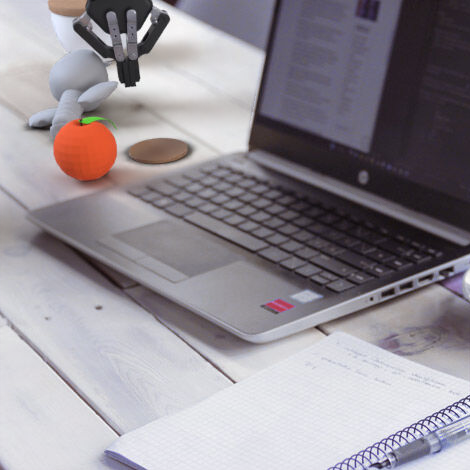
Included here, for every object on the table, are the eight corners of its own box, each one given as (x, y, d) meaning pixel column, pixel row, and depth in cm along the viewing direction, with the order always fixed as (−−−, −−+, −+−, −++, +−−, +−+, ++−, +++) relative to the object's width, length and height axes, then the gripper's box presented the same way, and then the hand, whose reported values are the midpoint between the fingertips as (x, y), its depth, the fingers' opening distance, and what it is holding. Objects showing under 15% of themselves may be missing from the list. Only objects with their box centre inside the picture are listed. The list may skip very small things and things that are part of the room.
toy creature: (0, 121, 115) (32, 49, 131) (32, 169, 119) (60, 94, 135) (94, 86, 113) (115, 18, 129) (123, 136, 117) (141, 64, 133)
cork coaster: (120, 161, 112) (120, 158, 112) (141, 139, 118) (140, 136, 118) (177, 165, 111) (177, 162, 111) (195, 142, 117) (195, 139, 117)
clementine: (102, 157, 113) (95, 101, 110) (140, 173, 109) (133, 114, 106) (45, 179, 108) (35, 120, 104) (83, 196, 104) (74, 135, 100)
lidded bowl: (146, 63, 145) (139, -10, 140) (62, 73, 141) (50, -2, 136) (131, 41, 156) (123, -28, 150) (51, 49, 151) (41, -21, 146)
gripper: (161, -56, 124) (175, 71, 133) (56, -48, 121) (78, 82, 129) (169, -44, 118) (183, 88, 126) (59, -35, 115) (81, 100, 123)
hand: (130, 85), depth 128 cm, fingers closed
